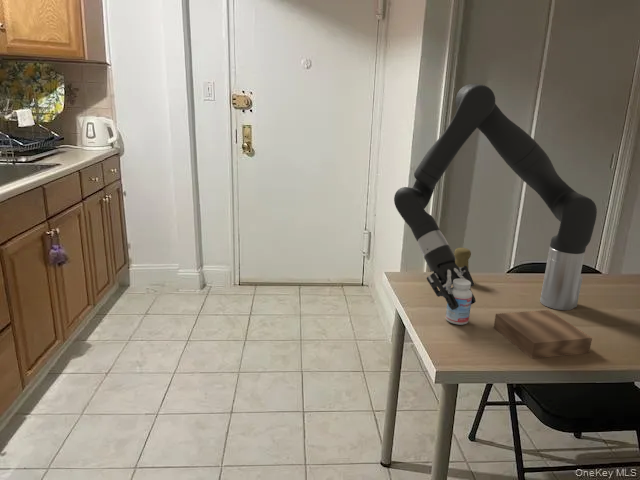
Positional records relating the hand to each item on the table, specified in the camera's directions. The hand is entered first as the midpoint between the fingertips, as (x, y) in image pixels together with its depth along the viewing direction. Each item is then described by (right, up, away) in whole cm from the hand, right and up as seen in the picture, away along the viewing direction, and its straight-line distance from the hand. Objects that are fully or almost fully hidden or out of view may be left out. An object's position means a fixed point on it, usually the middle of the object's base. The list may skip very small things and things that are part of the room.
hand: (464, 305), depth 134 cm
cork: (+8, +4, +33) cm, 34 cm away
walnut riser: (+17, -8, -5) cm, 20 cm away
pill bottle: (-1, -4, +3) cm, 5 cm away
